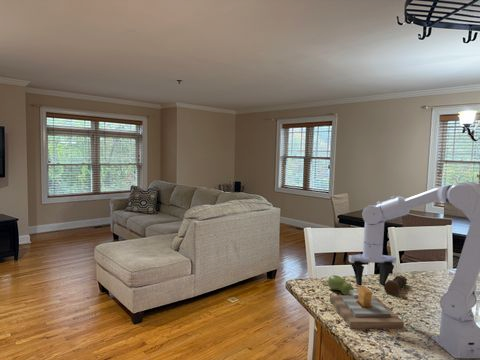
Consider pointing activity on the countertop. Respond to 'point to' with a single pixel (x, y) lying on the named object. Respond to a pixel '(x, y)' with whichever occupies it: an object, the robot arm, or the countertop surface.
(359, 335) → the countertop surface
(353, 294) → the brown grey stepped board
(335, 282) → the pear
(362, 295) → the notched wooden block
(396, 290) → the bolt
